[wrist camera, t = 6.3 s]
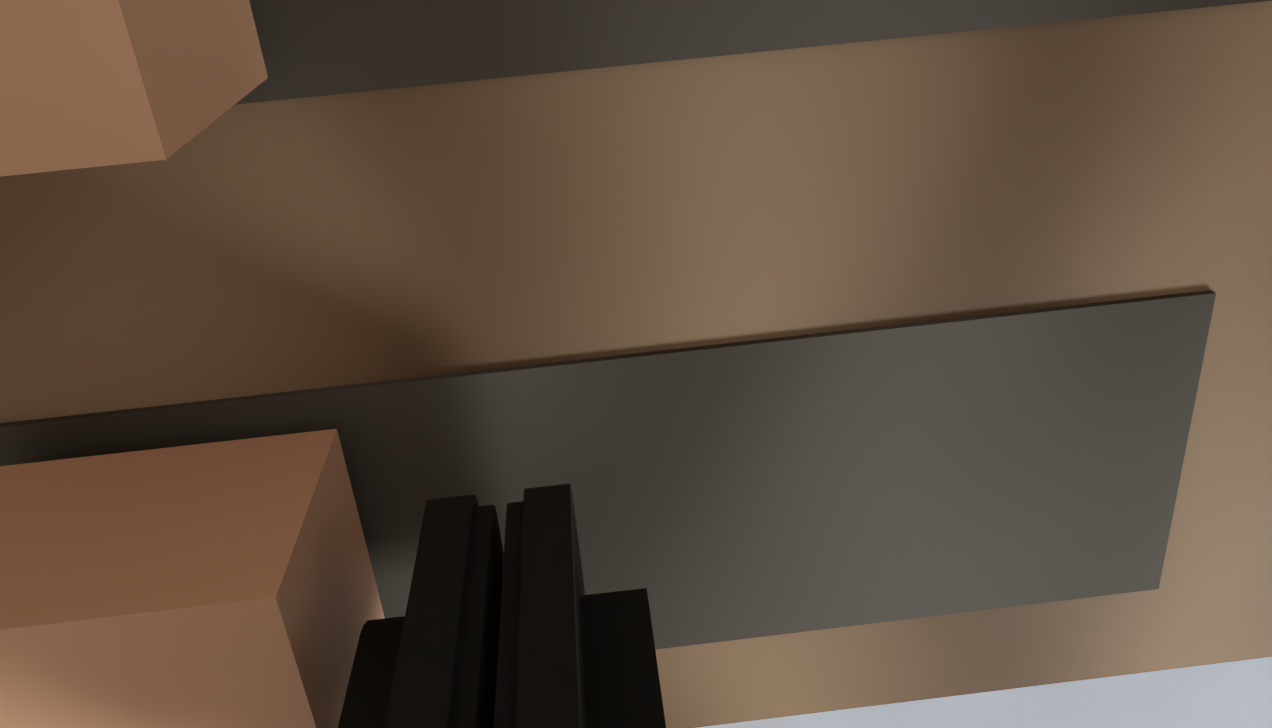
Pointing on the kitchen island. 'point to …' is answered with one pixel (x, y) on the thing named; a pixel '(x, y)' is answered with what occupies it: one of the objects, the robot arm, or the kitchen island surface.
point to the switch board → (726, 317)
